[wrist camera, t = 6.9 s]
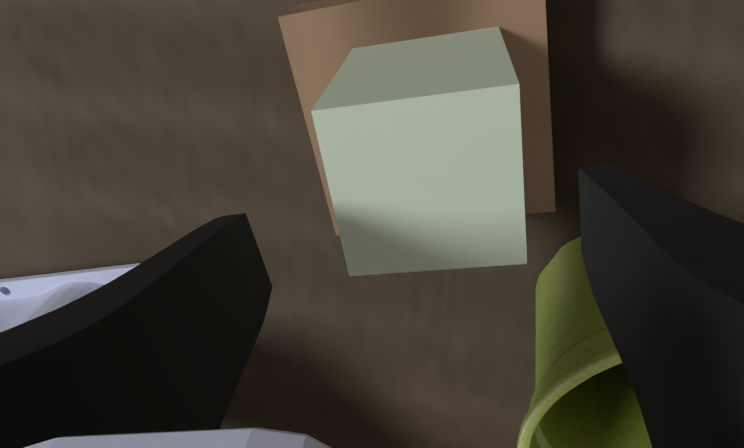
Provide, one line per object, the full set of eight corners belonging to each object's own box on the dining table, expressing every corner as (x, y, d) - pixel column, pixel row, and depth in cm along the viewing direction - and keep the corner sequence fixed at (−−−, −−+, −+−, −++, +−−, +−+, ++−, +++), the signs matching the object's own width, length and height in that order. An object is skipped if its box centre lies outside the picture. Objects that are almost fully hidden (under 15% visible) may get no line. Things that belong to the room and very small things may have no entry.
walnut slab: (349, 199, 24) (336, 235, 21) (300, 2, 20) (277, 17, 17) (544, 175, 22) (555, 211, 19) (531, -45, 18) (543, -36, 16)
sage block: (376, 177, 20) (349, 276, 14) (352, 48, 17) (310, 111, 12) (506, 163, 19) (527, 263, 14) (498, 26, 17) (519, 83, 11)
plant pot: (720, 156, 20) (874, 303, 13) (742, 344, 24) (870, 541, 17) (471, 224, 23) (479, 378, 16) (528, 384, 27) (556, 567, 20)
